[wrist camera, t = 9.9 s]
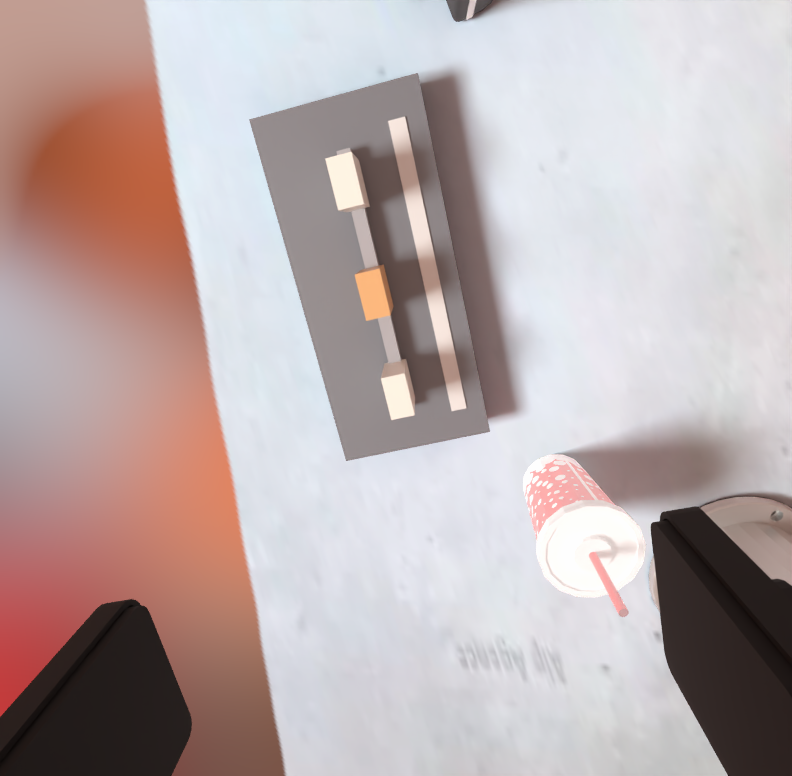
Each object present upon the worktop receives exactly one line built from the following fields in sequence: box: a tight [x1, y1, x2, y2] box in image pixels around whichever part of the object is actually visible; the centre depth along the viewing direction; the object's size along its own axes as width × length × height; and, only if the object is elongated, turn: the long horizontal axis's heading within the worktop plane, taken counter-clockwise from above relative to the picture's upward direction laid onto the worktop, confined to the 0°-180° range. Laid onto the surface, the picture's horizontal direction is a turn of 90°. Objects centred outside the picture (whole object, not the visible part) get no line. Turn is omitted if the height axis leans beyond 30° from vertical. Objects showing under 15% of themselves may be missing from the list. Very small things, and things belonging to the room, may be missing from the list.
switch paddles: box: [325, 148, 415, 420], centre depth 31 cm, size 1×16×4 cm, turn 13°
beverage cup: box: [523, 454, 646, 617], centre depth 33 cm, size 6×6×14 cm
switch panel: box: [250, 73, 490, 461], centre depth 35 cm, size 10×22×3 cm, turn 13°
